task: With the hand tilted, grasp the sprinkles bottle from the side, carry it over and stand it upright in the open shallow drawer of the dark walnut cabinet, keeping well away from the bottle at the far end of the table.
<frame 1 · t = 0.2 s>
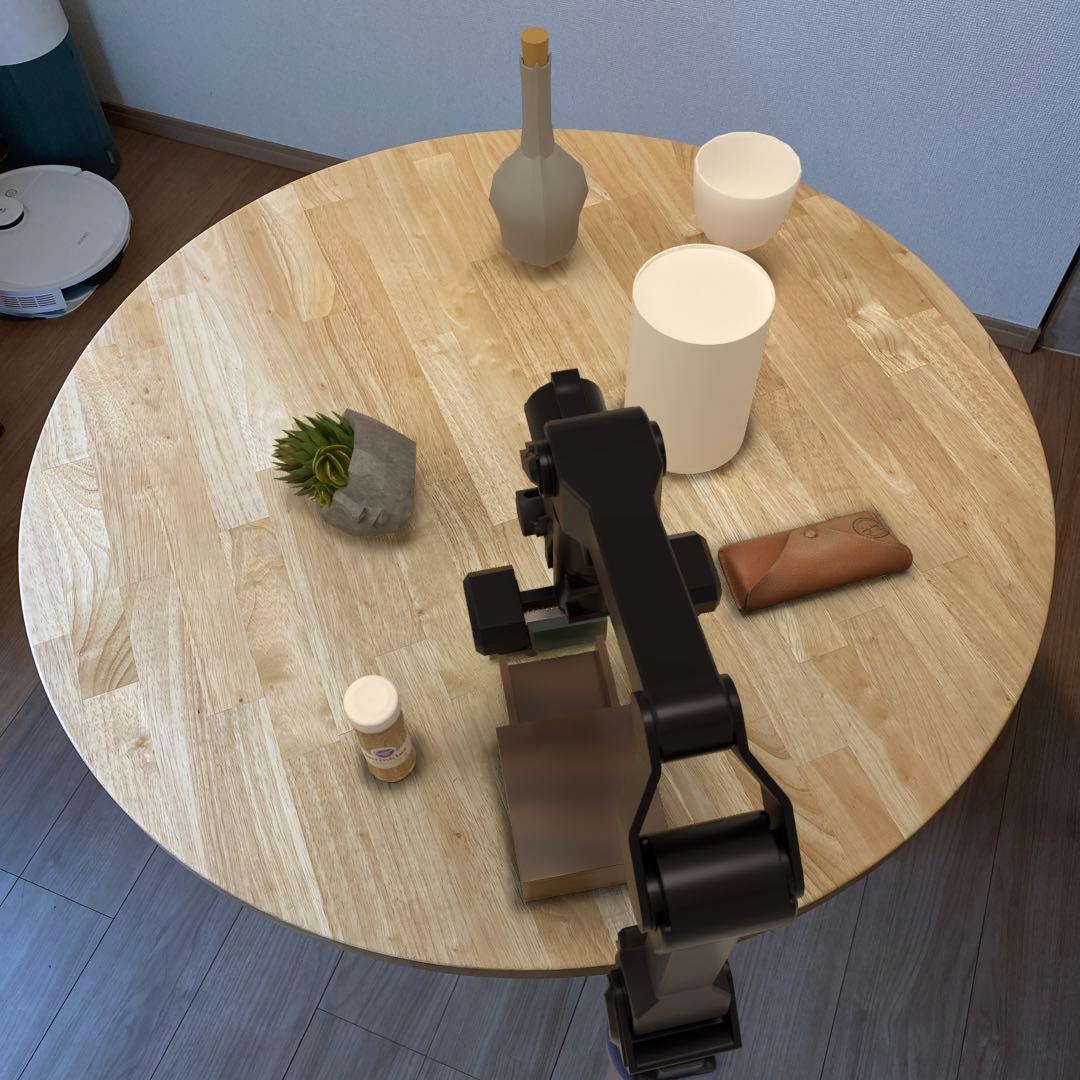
hand: (588, 640, 86), 15 cm above the table, tool pointing down, fingers open, 9 cm apart
sprinkles bottle: (393, 760, 96), on the table
cup: (727, 282, 129), on the table
sunglasses case: (809, 564, 107), on the table
canister: (683, 426, 117), on the table
cabinet: (581, 811, 93), on the table
drawer: (554, 668, 97), point 3 cm above the table, slide at 9.0 cm
bottle: (540, 262, 132), on the table
potted plant: (356, 507, 112), on the table
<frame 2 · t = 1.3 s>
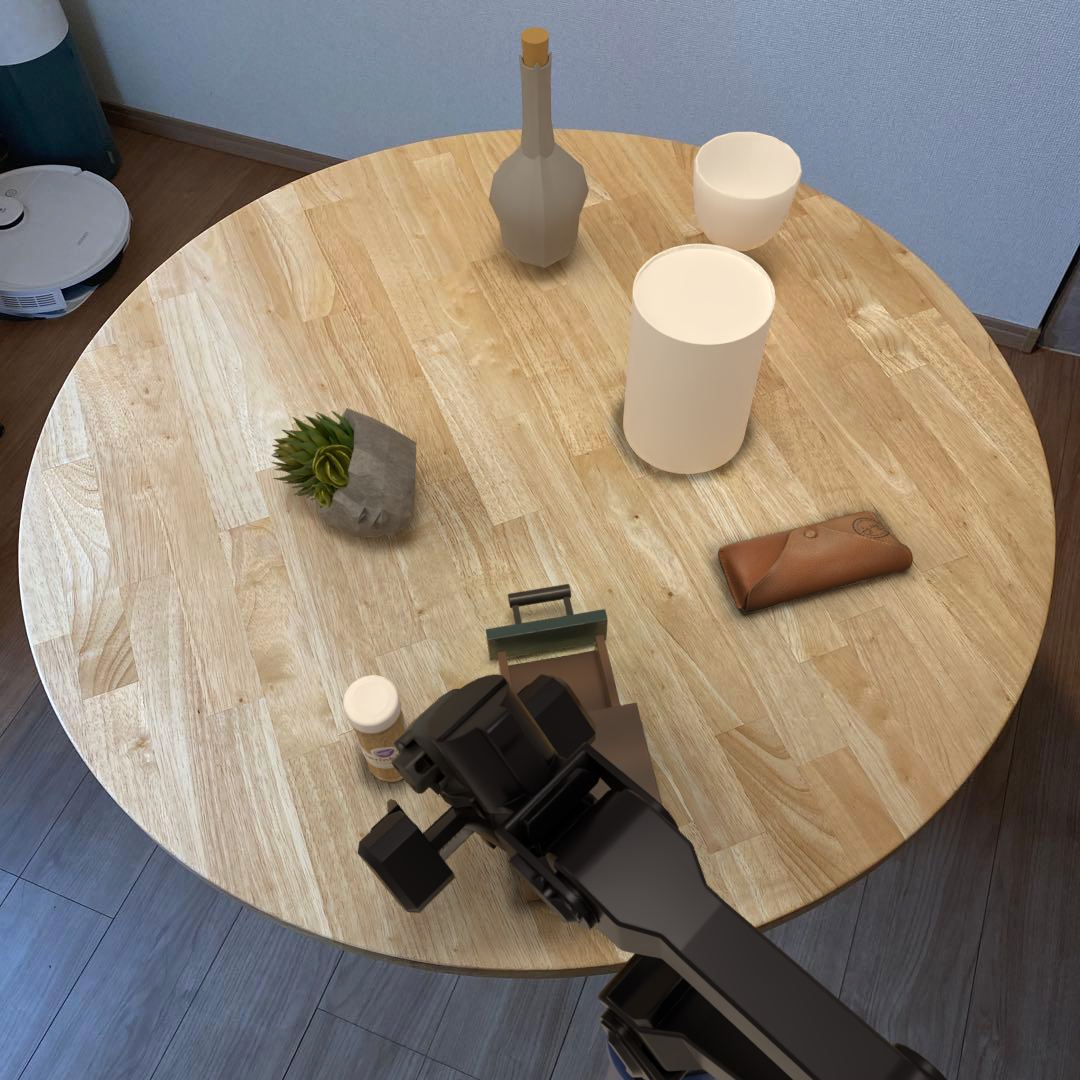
hand: (436, 763, 82), 13 cm above the table, tool tilted 45°, fingers open, 9 cm apart
nothing on the table moved.
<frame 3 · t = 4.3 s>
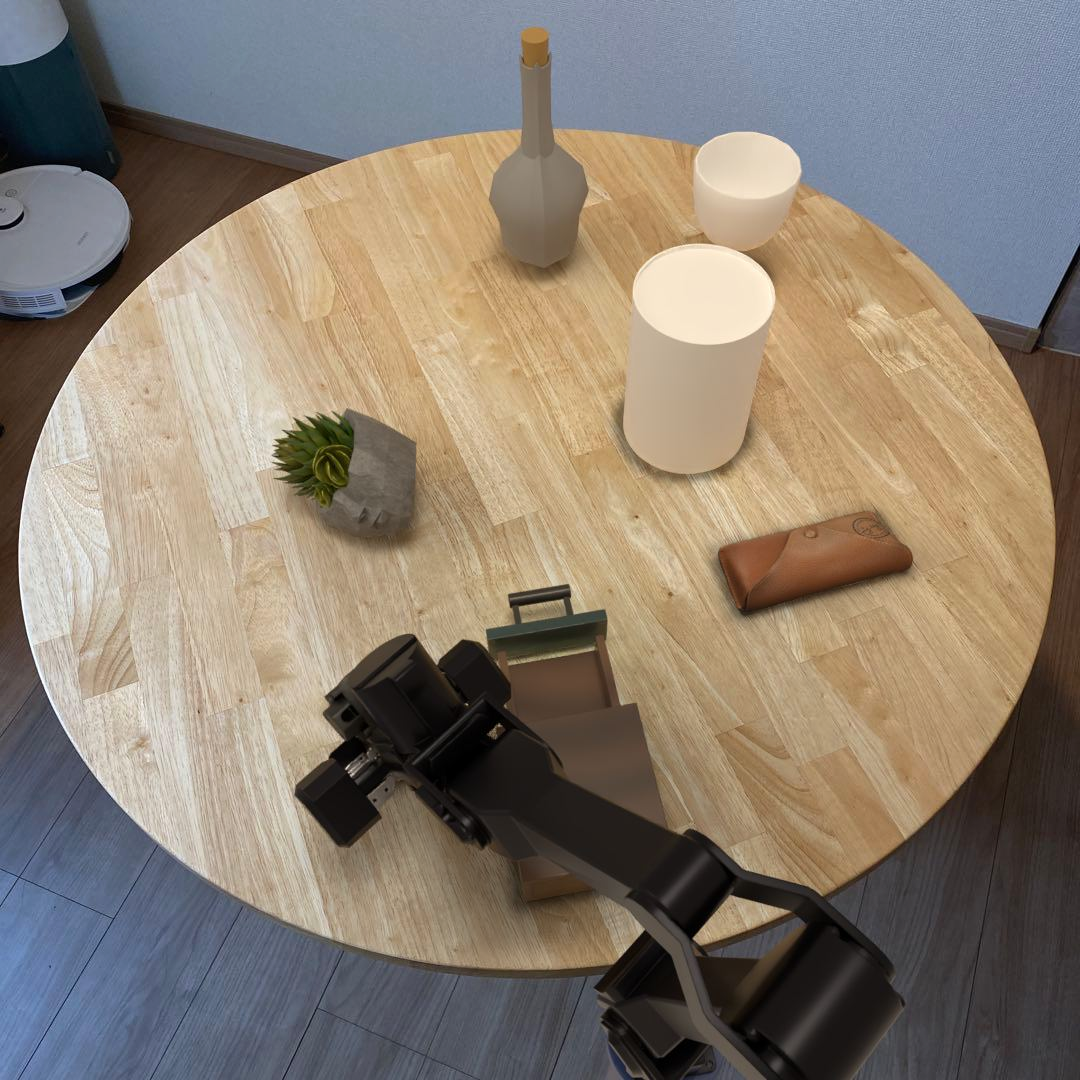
hand: (372, 721, 91), 7 cm above the table, tool tilted 45°, fingers closed on sprinkles bottle, 4 cm apart
sprinkles bottle: (393, 760, 96), on the table, touching gripper
everything else where it was.
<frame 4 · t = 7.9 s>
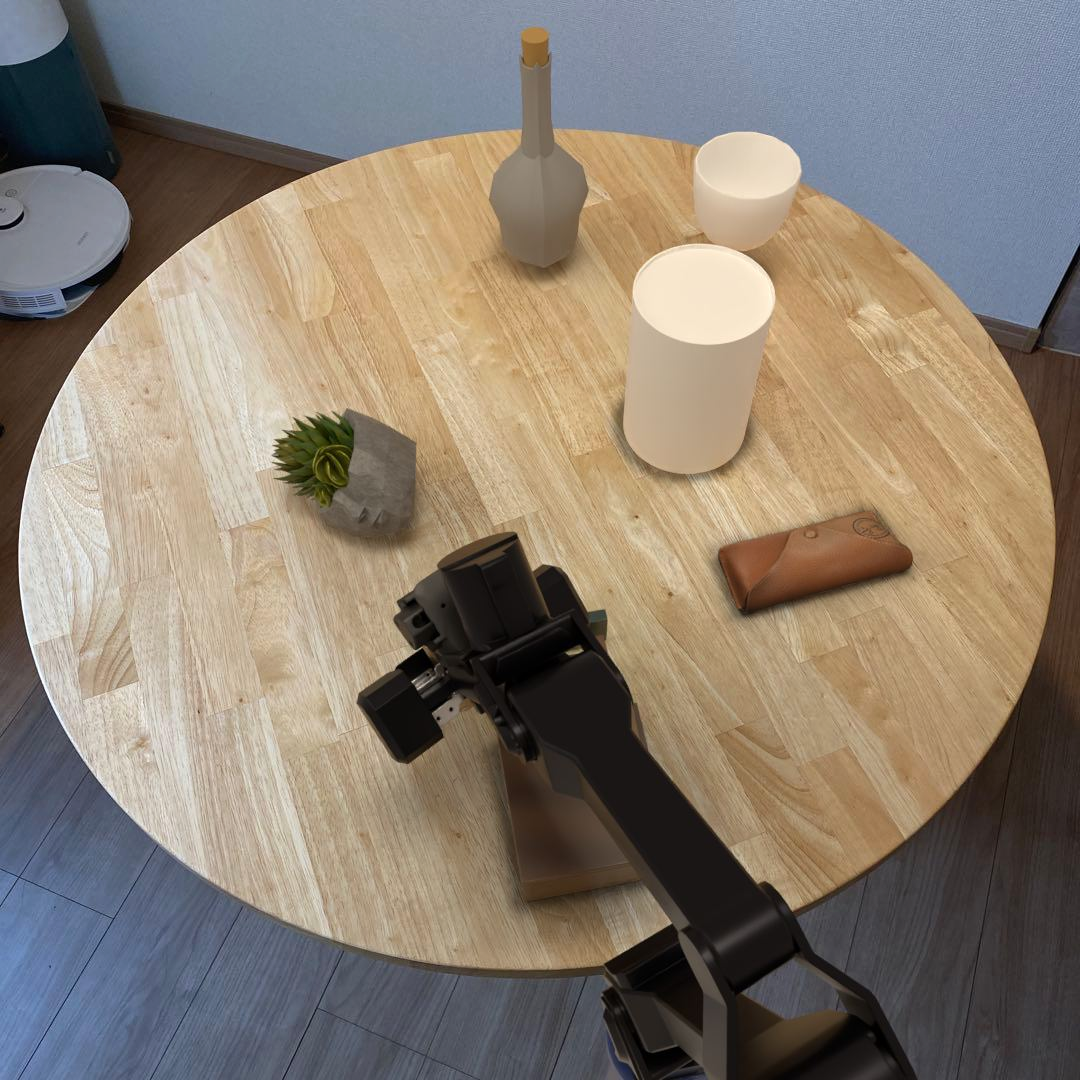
hand: (441, 644, 88), 13 cm above the table, tool tilted 45°, fingers closed on sprinkles bottle, 4 cm apart
sprinkles bottle: (459, 691, 93), point 6 cm above the table, touching gripper
everything else where it was.
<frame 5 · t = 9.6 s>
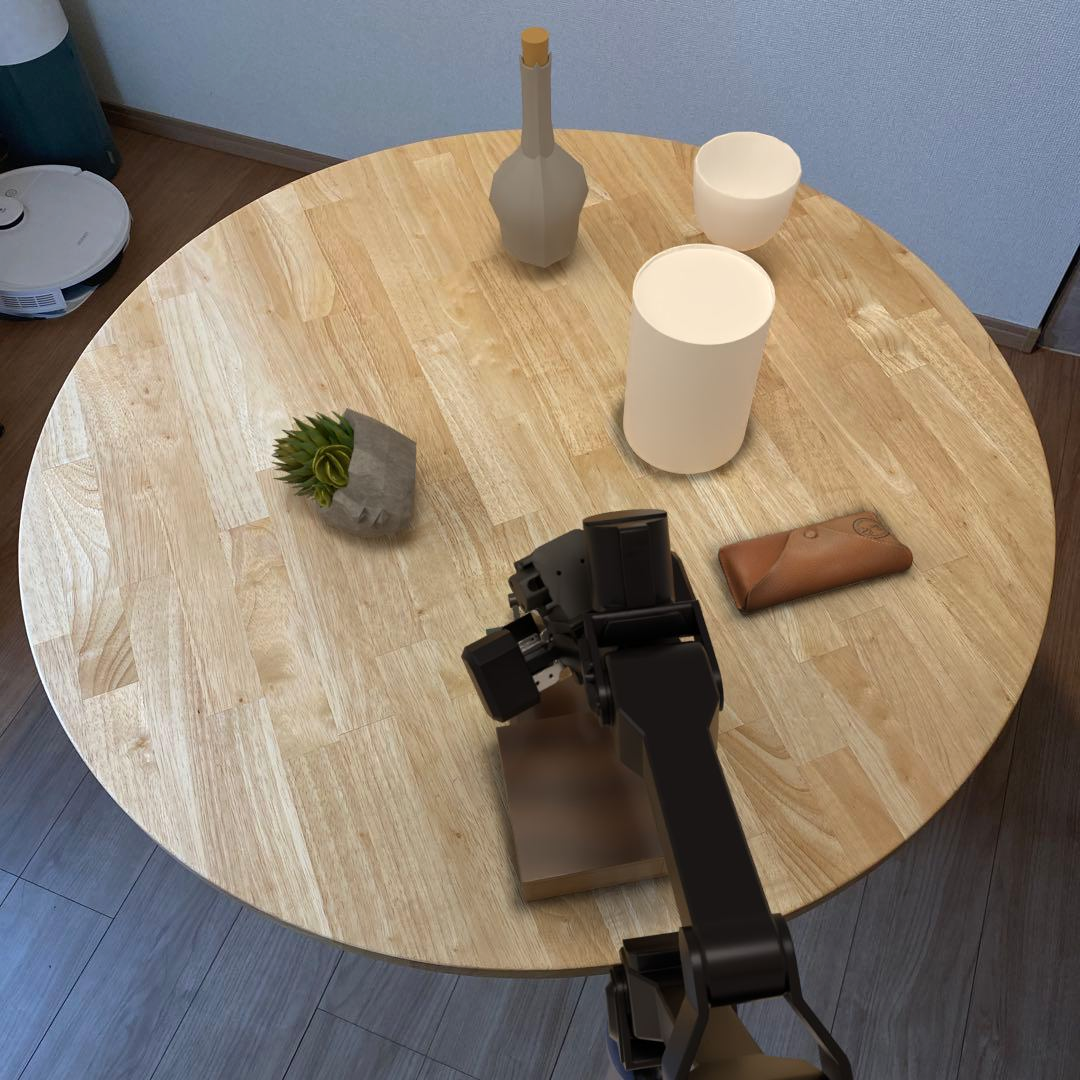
hand: (546, 613, 89), 13 cm above the table, tool tilted 45°, fingers closed on sprinkles bottle, 4 cm apart
sprinkles bottle: (554, 661, 94), point 7 cm above the table, touching gripper
everything else where it was.
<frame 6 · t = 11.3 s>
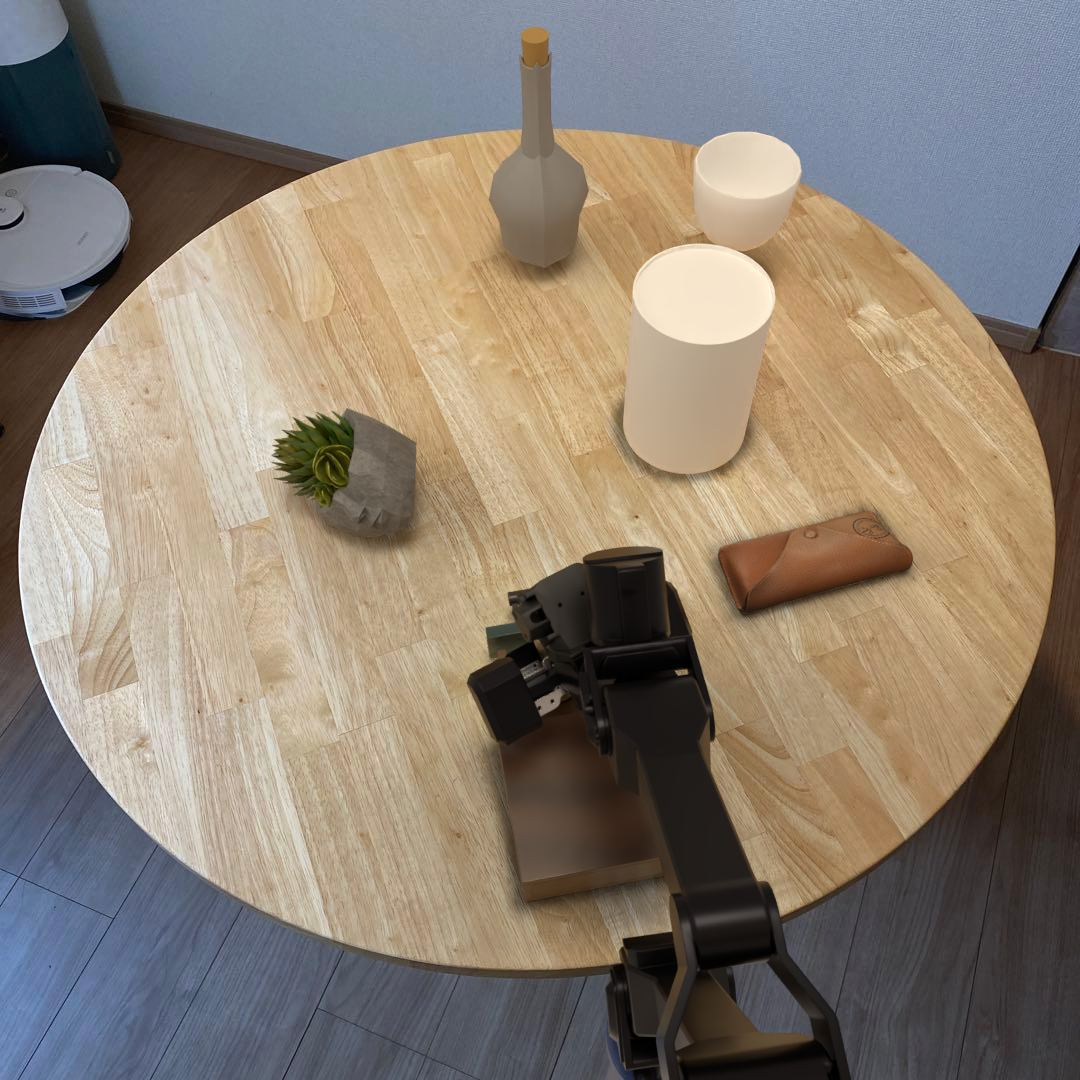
hand: (547, 637, 93), 9 cm above the table, tool tilted 45°, fingers closed on sprinkles bottle, 4 cm apart
sprinkles bottle: (555, 682, 98), point 2 cm above the table, touching drawer, gripper
drawer: (553, 667, 98), point 3 cm above the table, slide at 9.2 cm, touching sprinkles bottle
everything else where it was.
when the fingers open (9 cm above the table, at t = 11.4 s): sprinkles bottle stays where it is, resting on drawer.
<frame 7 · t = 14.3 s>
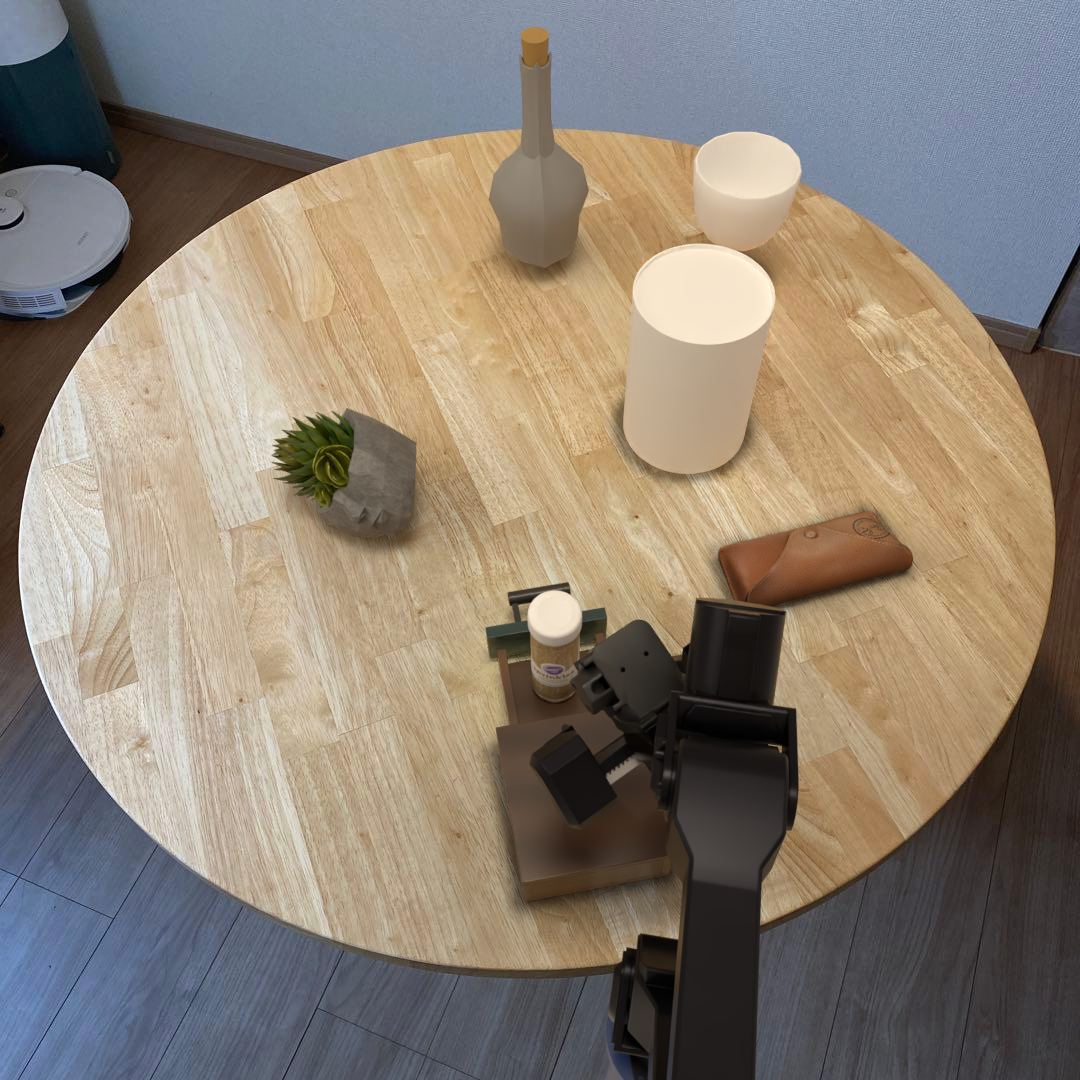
hand: (612, 697, 85), 13 cm above the table, tool tilted 40°, fingers open, 9 cm apart
sprinkles bottle: (555, 682, 98), point 2 cm above the table, touching drawer
everything else where it was.
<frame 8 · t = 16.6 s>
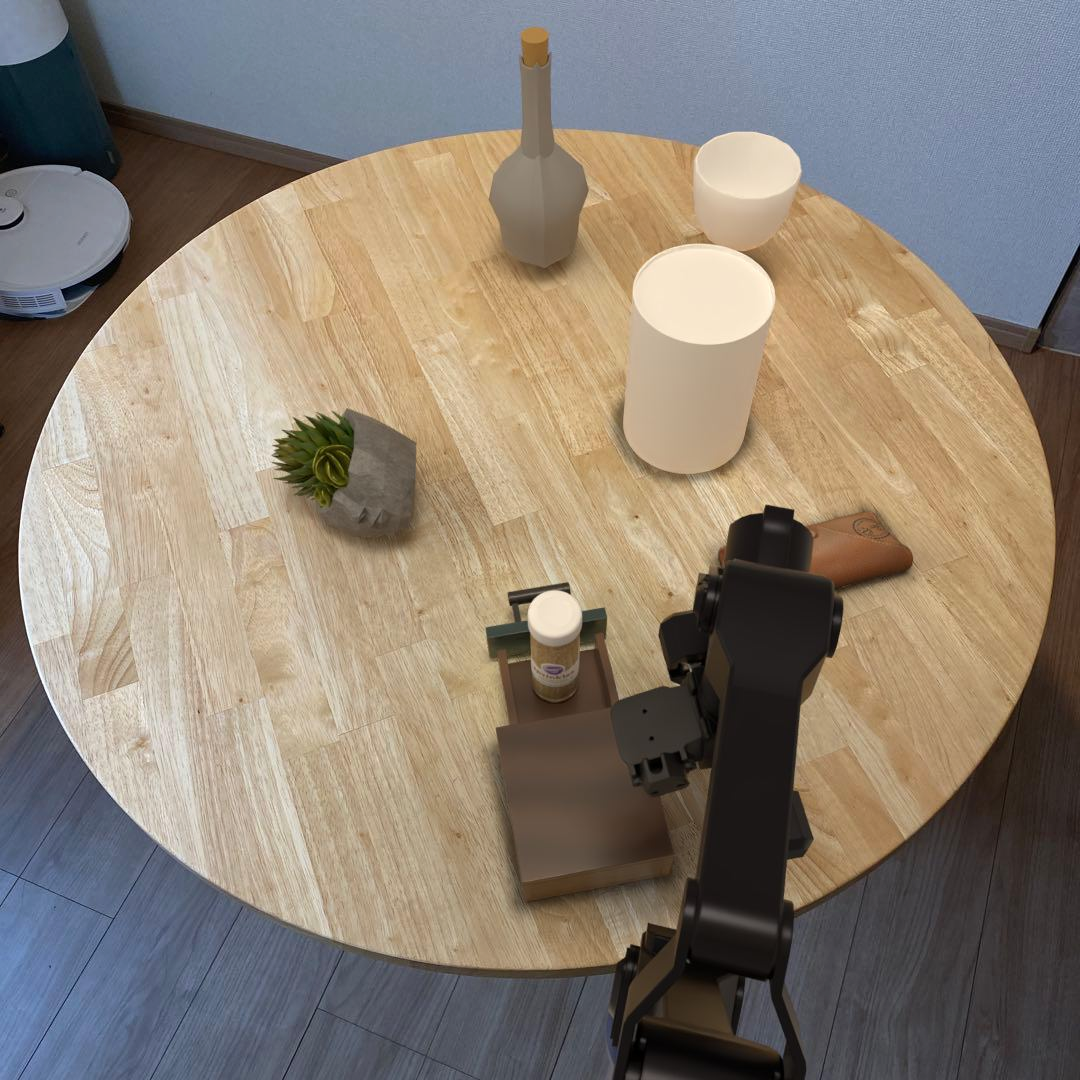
hand: (716, 771, 81), 13 cm above the table, tool pointing down, fingers open, 9 cm apart
nothing on the table moved.
at the end: sprinkles bottle inside the target area in the drawer (0.0 cm from its centre), point 1.8 cm above the cabinet's base; sprinkles bottle tilted 0°; sprinkles bottle touching drawer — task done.
